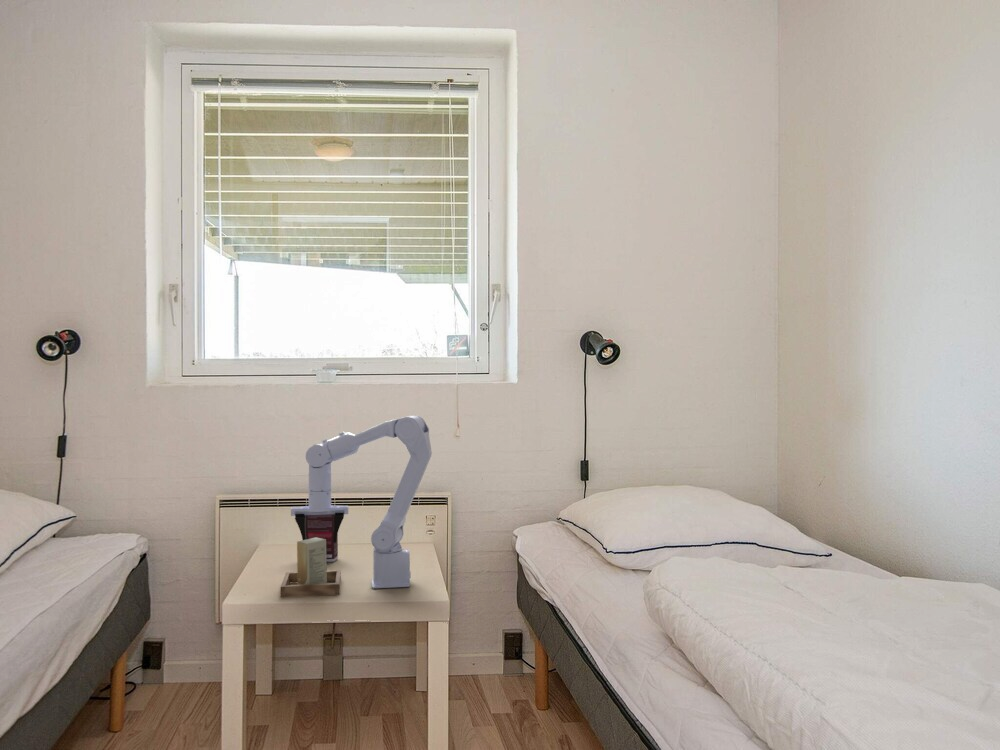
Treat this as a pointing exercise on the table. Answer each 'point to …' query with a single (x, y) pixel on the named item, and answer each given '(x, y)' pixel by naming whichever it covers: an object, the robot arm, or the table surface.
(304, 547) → the skincare box
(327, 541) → the supplement box
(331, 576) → the walnut box
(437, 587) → the table surface
